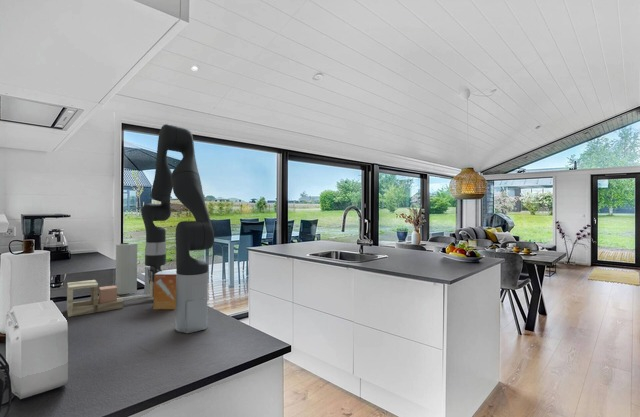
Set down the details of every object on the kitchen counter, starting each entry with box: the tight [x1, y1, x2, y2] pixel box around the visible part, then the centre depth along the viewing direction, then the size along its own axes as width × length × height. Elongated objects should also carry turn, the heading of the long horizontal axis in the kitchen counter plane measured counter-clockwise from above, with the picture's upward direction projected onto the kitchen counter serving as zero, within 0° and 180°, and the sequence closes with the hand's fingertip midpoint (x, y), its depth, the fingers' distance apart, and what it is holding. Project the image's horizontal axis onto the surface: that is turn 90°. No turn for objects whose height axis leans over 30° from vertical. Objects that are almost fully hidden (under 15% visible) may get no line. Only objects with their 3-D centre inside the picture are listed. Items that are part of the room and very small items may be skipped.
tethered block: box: [98, 281, 154, 304], centre depth 124 cm, size 5×20×6 cm, turn 131°
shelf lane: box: [66, 279, 124, 318], centre depth 117 cm, size 9×16×10 cm, turn 130°
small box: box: [152, 270, 176, 310], centre depth 121 cm, size 8×6×13 cm
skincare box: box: [143, 265, 150, 294], centre depth 139 cm, size 6×4×12 cm
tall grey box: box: [115, 242, 138, 295], centre depth 138 cm, size 7×6×21 cm
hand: (155, 295), depth 130 cm, fingers closed on tethered block, 3 cm apart
